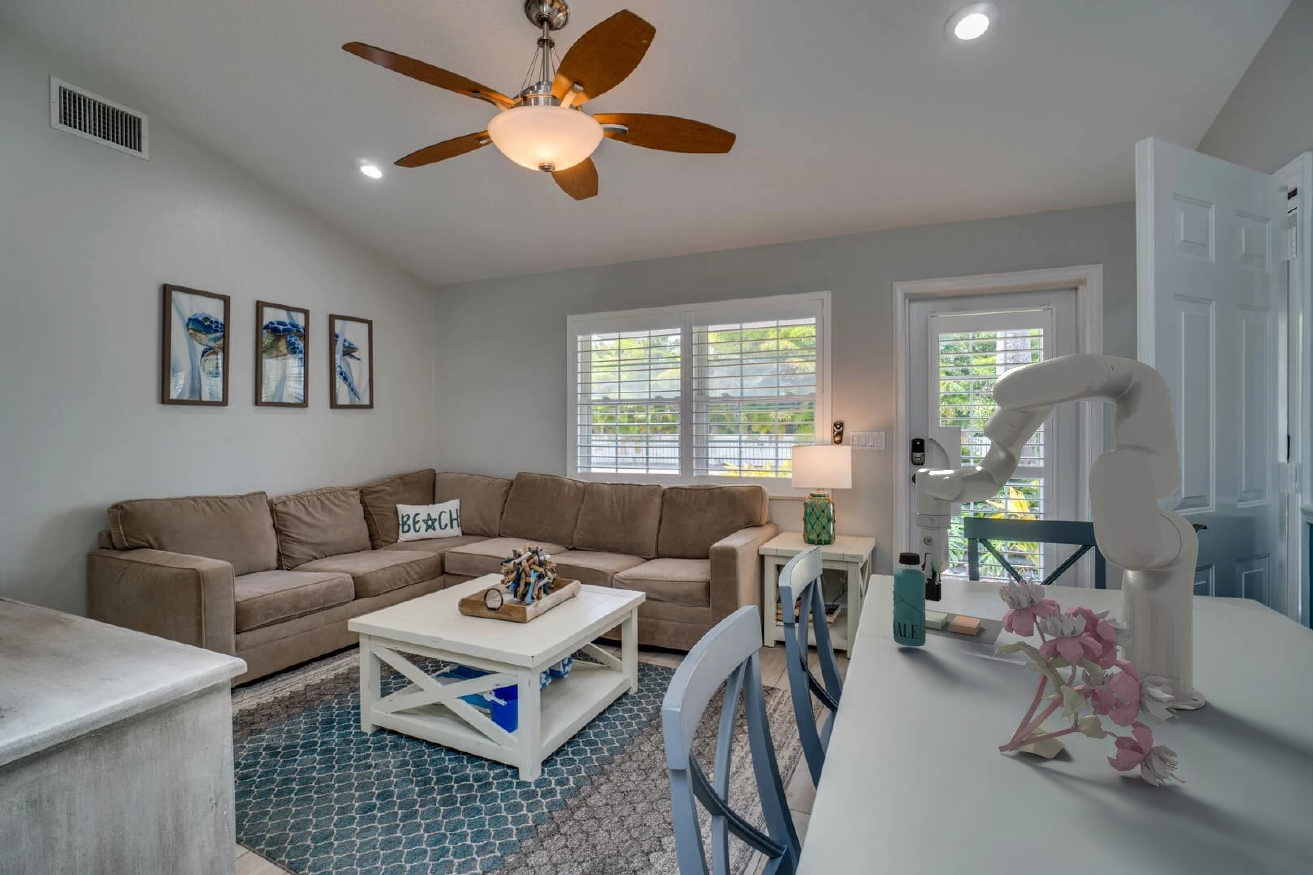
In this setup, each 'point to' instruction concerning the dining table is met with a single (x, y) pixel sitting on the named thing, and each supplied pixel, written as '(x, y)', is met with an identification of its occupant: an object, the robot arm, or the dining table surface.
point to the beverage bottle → (909, 603)
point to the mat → (984, 634)
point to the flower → (1086, 682)
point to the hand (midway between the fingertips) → (933, 599)
